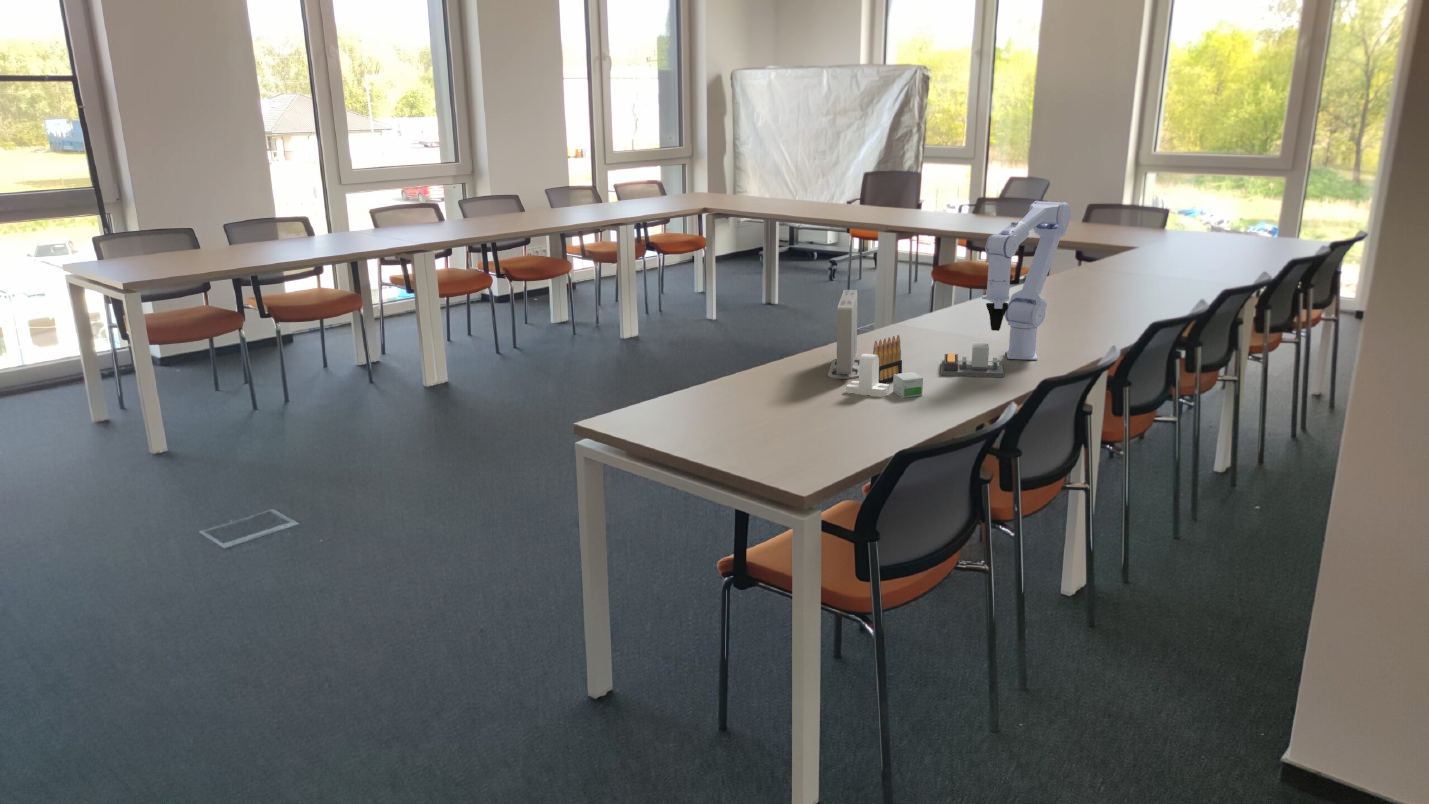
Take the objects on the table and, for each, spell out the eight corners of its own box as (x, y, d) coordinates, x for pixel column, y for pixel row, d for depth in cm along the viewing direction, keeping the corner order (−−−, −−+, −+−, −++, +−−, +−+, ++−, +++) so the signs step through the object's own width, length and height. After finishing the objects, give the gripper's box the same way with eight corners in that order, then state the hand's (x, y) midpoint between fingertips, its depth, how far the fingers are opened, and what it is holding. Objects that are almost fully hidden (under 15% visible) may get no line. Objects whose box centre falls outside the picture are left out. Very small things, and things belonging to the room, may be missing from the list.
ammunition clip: (875, 386, 248) (876, 341, 245) (869, 385, 250) (870, 340, 246) (902, 378, 255) (903, 334, 251) (896, 377, 256) (897, 333, 253)
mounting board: (941, 363, 268) (941, 359, 267) (1001, 365, 264) (1001, 361, 264) (941, 375, 256) (941, 371, 256) (1003, 377, 253) (1003, 373, 252)
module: (971, 362, 263) (972, 341, 261) (986, 363, 262) (988, 341, 260) (972, 369, 256) (973, 347, 255) (987, 370, 255) (988, 348, 254)
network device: (859, 382, 252) (860, 308, 246) (826, 381, 254) (826, 307, 248) (864, 357, 276) (865, 288, 270) (834, 356, 278) (834, 288, 272)
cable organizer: (883, 397, 239) (884, 358, 236) (845, 393, 244) (846, 355, 241) (889, 391, 244) (890, 353, 241) (852, 387, 248) (853, 350, 245)
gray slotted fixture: (944, 360, 266) (944, 353, 266) (997, 362, 263) (998, 355, 262) (943, 370, 257) (944, 363, 256) (999, 372, 254) (999, 365, 253)
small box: (902, 398, 238) (903, 379, 237) (892, 392, 244) (892, 373, 242) (923, 396, 240) (924, 377, 238) (912, 389, 245) (913, 371, 244)
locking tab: (947, 360, 265) (947, 353, 265) (954, 360, 265) (955, 353, 264) (947, 368, 257) (947, 361, 257) (954, 368, 257) (955, 361, 256)
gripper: (982, 275, 263) (979, 323, 267) (984, 284, 249) (980, 335, 253) (1009, 275, 261) (1005, 324, 265) (1012, 285, 248) (1008, 336, 252)
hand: (995, 330), depth 259 cm, fingers closed
